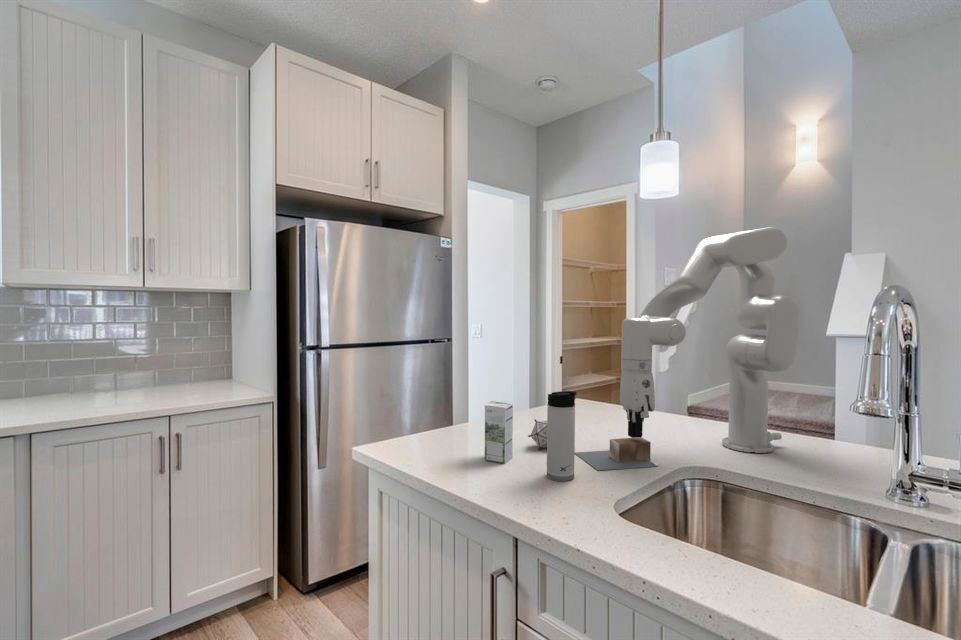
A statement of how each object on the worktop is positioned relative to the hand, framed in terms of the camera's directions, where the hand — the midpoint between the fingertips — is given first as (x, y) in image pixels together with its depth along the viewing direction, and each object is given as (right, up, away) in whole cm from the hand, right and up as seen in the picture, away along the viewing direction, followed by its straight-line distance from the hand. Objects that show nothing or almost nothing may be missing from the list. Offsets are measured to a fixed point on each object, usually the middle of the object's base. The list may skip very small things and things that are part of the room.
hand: (635, 436), depth 126 cm
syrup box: (-35, -6, -1) cm, 36 cm away
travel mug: (-21, -6, -14) cm, 26 cm away
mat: (-6, -6, -1) cm, 8 cm away
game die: (-22, -6, +9) cm, 24 cm away
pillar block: (+3, -3, +1) cm, 4 cm away
